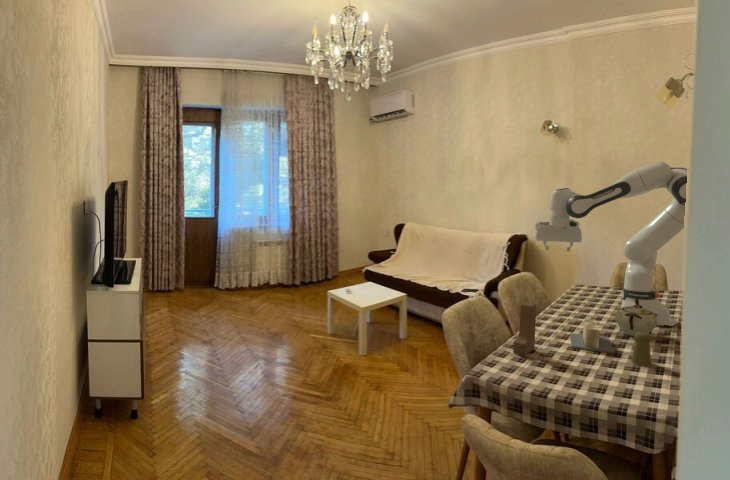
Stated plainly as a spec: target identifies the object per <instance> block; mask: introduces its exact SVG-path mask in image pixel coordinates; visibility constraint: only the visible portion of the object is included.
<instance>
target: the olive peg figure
mask: <svg viewBox="0 0 730 480" xmlns="http://www.w3.org/2000/svg"><path fill="white" fill-rule="evenodd" d="M633 338H634V340H635V343H634V348H633V351H632V356H631V359H630V361H631V363H633V364H634V365H637V366H643V367H650V366H651V365H652V358H651V357H652V356H651V345H650V344H651V342H652V339H653V337H652V334H650V333H646V332H636V333H635V335H634V336H633Z"/></svg>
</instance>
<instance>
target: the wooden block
mask: <svg viewBox="0 0 730 480" xmlns="http://www.w3.org/2000/svg"><path fill="white" fill-rule="evenodd" d="M536 322H537V304H536V303H532V302H523V303H521V304H520V307H519V329H518V331H519V332H518V335H517V337H516V339H515V340H513V344H512V345H513V348H512V352H513V354H517V355H519V356H523V357H524V356H526V355H528V354H530V353H531V352H532V351H534V350H535V343H536V341H535V340H536V324H537V323H536Z"/></svg>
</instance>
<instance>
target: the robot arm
mask: <svg viewBox="0 0 730 480" xmlns="http://www.w3.org/2000/svg"><path fill="white" fill-rule="evenodd" d="M687 169H688V168H686V167H672V166H671V167H670V165H669V164H668V163H666V162H664V161H658V162H654V163H649V164H647V165H643V166H641V167H637V168H636V169H634V170H632V171H630V172H627V173H626V174H624V175H622V176H621V177H620V178H618V179H617V180H615V182H613V183H612V184H610V185H609V186H607V187H605V188H603V189H599V190H597V191H596V192H593V193H590V194H585V195H583V194H580V193H577V192H575V191H573V190H571V188H568V187H564V188H558V189H555V190H553V191H552V192H551V194H550V202H549V209H550V212H549V216H548V218H549V219H548V220H549V221H539V222H537V223H536V224H535V231H536V232H535V239H536V241H537V242H543V245H544V247H545V251H549V250H550V246H548V245H547V242H558V243H560V242H564V243H569V246H567V247H566V252H571V248H572V246H573V245H574V243H581V242H582V240H583V238H582V237H583V236H582V230H581V227H580V222H579V221H577V220H574V219H582V218H584V217H586V216H588V215H589V213H591V211H592V210H593V211H594V209H595V208H598V207H600V206H603V205H606V204H608V203H610V202H613V201H615V200H619V199H626V198H634V197H636V196H641V195H644V194H647V193H650V192H651V191H654V190H655V189H656V190H657V189H662V188H663V189H664V188H665V189H666V190H667V191H668V193H670V195H672V196H673V198H672V200H671V202H670V203H669V204H668V205H667V206H666V207H664V208H663V209H662V210H661V211H660V212H659V213H658V214H657V215H656V216H655V217H654V218H652V219H651V220H650V222H648V223H647V224H646V225H644V226H643V227H642V228H641V229H639V231H637V232H636V233H635V234H634V235H633V236H631V237H630V239H628V240H627V241H626V242H625V243H624V246H623V255H624V257H625V258H626V259H628V260H627V263H626V268H625V272H624V282H623V283H624V285H623V287H622V291H621V298H622V301H621V306H620V309H621V308H623V307H628V306H634V305H636V304H635V299H638V300H639V306H642V307H643V308H645V309H647V310H649V311H651V312H652V313H653V314H654V315H655V317H656V319H657V325H656V326H664V325H666V327H668V326H669V327H674V326H673V325H675V324H676V325H677V321H676V319H675V318H673V317H671V312H670V310H669V308H668V307H667V306H666V305H665V304H663V303H662V302H661V301H660V300H659V298H660V297H661V296H660V293H658V292H657V291H655V290H653V283H654V280H653V279H654V272H655V268H656V261H657V257H658V251H659V250H660V249H662V247H664V246H665V245H666V244H667V243H668V242H669V241H671V240H672V239H673V238H674V237H676V236H677V235H678V234H679V233H680V232H681V231H683V229H685V227H684V216H685V202H686V183H687ZM570 217H571V218H573V219H570ZM667 325H668V326H667ZM676 325H675V326H676Z"/></svg>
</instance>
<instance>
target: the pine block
mask: <svg viewBox="0 0 730 480" xmlns="http://www.w3.org/2000/svg"><path fill="white" fill-rule="evenodd" d="M600 332H601V330H600V327H599V324H598V322H597V319H594V318H583V326H582V334H583V337H584V342H585V346H587V347H594V348H599V336H600Z"/></svg>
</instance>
